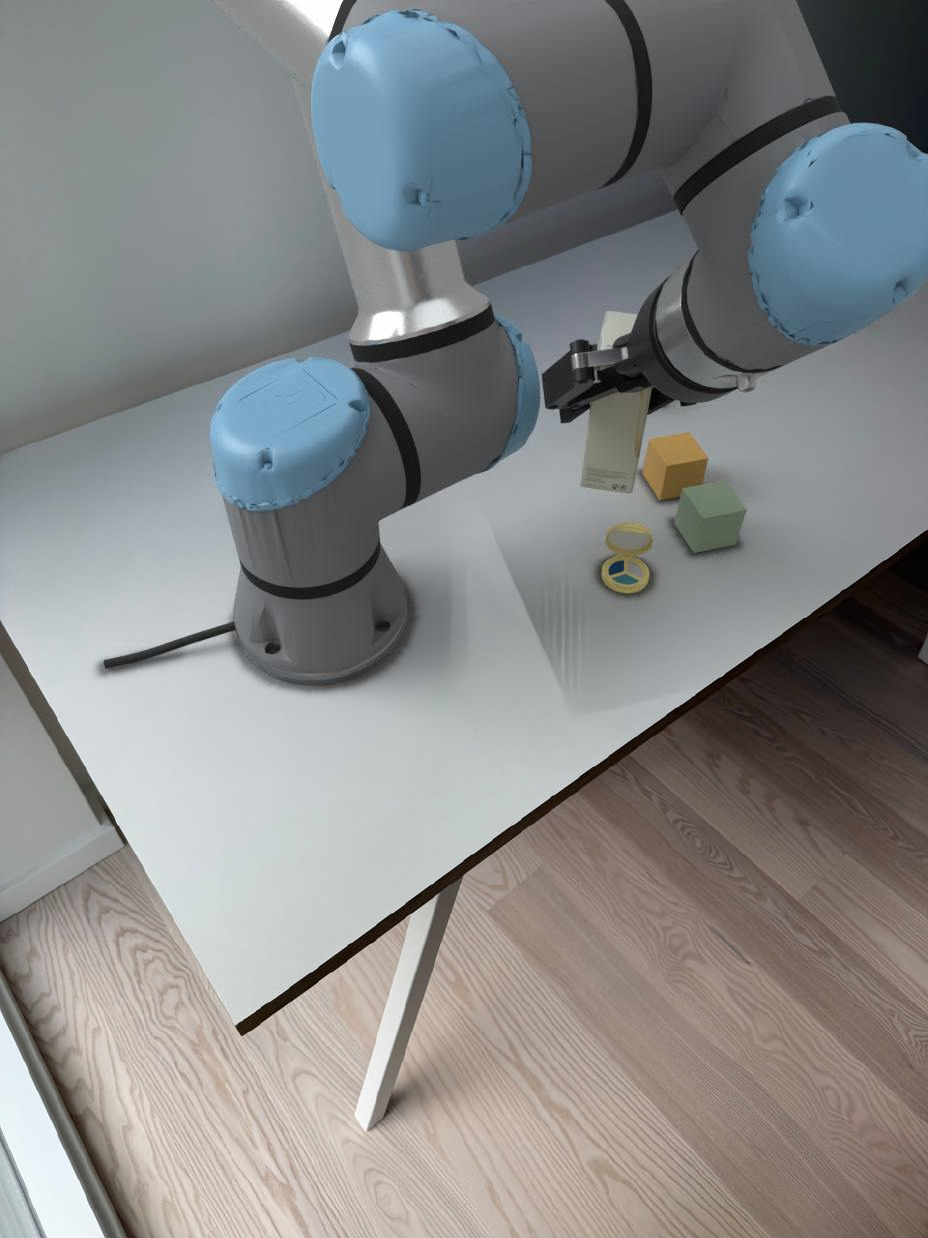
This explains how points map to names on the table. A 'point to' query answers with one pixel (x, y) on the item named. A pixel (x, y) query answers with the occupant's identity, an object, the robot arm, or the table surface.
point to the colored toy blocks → (693, 492)
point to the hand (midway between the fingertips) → (603, 402)
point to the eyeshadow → (627, 557)
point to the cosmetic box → (615, 424)
